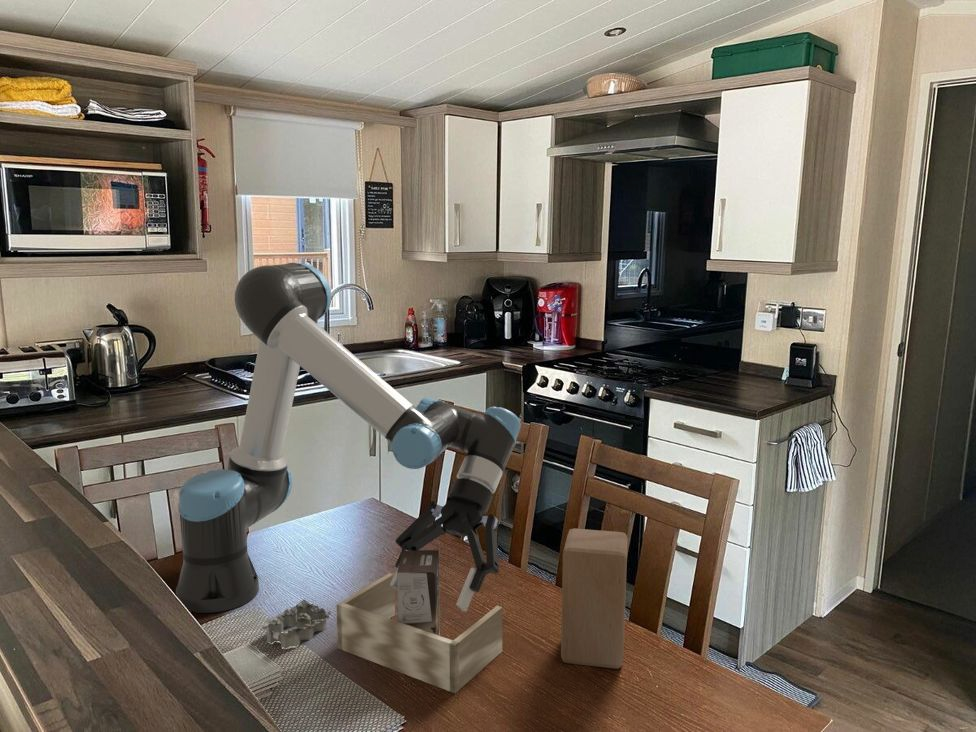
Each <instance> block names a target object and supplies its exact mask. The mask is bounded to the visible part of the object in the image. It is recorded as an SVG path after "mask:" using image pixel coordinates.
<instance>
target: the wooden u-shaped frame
mask: <svg viewBox="0 0 976 732" xmlns="http://www.w3.org/2000/svg"><path fill="white" fill-rule="evenodd" d="M394 574H395V573H391V572H388V574H386V575H384V576H382V577H380V578H379V579H377V580H376V581H374V582H372V583H371V584H368V585H367V586H365V587H364V588H362V589H360V590H359V591H357V592H355V593H353V594H352V595H350V596H349V597H347V598H345V599H344V600H342V601H339V603H337V604H336V622H337V623H336V624H337V625H336V626H337V628H336V629H337V649H338V650H341V651H344V652H346V653H348V654H349V653H350V654H351V655H355V656H356V657H360V658H362V659H363V660H364V659H365V660H367V661H370V662H373V663H375V664H378V665H380V666H383V667H385V668H388V669H390V670H393V671H396V672H399V673H401V674H403V675H406V676H409V677H411V678H414V679H417V680H419V681H421V682H424V683H426V684H430V685H431V686H434V687H437V688H440V689H443V690H446V691H447V692H450V693H453V694H457V693H458V692H460V690H461V689H462V688H463V687H465V685H466V684H468V683H469V682H470V681H471V680H472V679H473V678H475V676H477V675H478V674H479V673H480V672H481V671H482V670H484V668H486V666H488V665H489V664H490V663H492V661H493V660H495V659H496V657H498V656H499V655H500V654H501V653H502V652H503V606H499V605H496V606H494V607H493V608H492V609H491V610H489V611H488V612H487V613H486V614H485V615H484V616H482V617H481V618H480V619H478V621H476V622H475V623H473V624H472V625H471V626H470V627H468V628H467V629H466V630H465V631H464V632H462V633H461V634H459V635H458V636H457V637H456V638H455V639H450V638H446V637H444V636H441V635H440V636H438V635H435V634H432V633H429V632H427V631H424V630H421V629H418V628H415V627H412V626H409V625H406V624H403V623H400V622H398V620H394V619H392V618H393V617H394V616H395V615H396V606H395V605H396V604H395V600H396V599H395V597H396V596H395V589H394V588H393V587H392V586H391V585H390V583H391V581H392V579H393V577H394Z"/></svg>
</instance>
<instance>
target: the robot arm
mask: <svg viewBox="0 0 976 732" xmlns="http://www.w3.org/2000/svg"><path fill="white" fill-rule="evenodd" d="M331 302H332V291H331V286H330V283H329V281H328V280H327V278H326V277H325V275H324V274H323V273H322V272H321V271H320V270H319V269H317V268H316V267H315V266H313V265H310V264H307V263H299V262H288V263H283V264H274V265H268V264H266V265H261V266H260V265H259V266H256V267H254V268H252V269H250V270H248V271H247V272H246V273H244V274H243V276H241V278H240V279H239V281H238V283H237V285H236V287H235V291H234V305H235V309H236V312H237V313H238V317H239V318H240V319H241V321H242V323H243V324H244V326H245V327H246V328H247V329H248V330H249V331H250V332H251V333H252V334H253V335H254V336H255V337H256V338H257V339H258V340H259V341H258V348H257V355H256V359H255V363H254V370H253V374H252V380H251V384H250V391H249V395H248V401H247V406H246V410H245V411H246V412H245V416H244V421H243V427H242V432H241V436H240V443H239V446H237V447H235V448H232V450H231V451H230V452H229V453H230V454H229V459H228V464H227V469H223V468H222V469H214V470H213V469H212V470H209V471H207V472H201V473H198V474H196V475H194V476H192V477H190V478H189V479H187V480H186V481H185V482H184V483H183V484H182V485H181V487H180V489H179V493H178V497H179V499H178V501H179V502H178V508H177V509H178V512H179V521H180V531H181V544H182V556H183V557H182V560H183V563H182V567H181V570H180V574H179V578H178V582H177V585H176V588H175V596H176V595H177V596H178V598H179V599H180V600H181V601H182V602H183V603H184V605H185V606H186V607H187V608H188V609H189V610H190V611H189V612H190V613H195V612H196V614H197V613H199V614H209V613H210V614H212V613H220V612H225V611H229V610H233V609H236V608H238V607H241V606H243V605H245V604H247V603H249V602H251V601H252V600H253V599H254V598H256V596H257V595H258V593H259V591H260V585H259V584H260V583H259V582H260V580H259V577H258V576H259V575H258V574H257V571H256V569H255V567H254V565H253V562H252V559H251V558H250V555H249V551H248V541H247V538H248V536H247V535H248V534H247V530H248V528H249V527H251V526H254V524H256V523H258V522H259V521H261V520H262V519H264V518H265V517H267V516H268V515H270V514H273V513H274V512H276V511H277V510H278V509H279V508H280V507H281V506H282V505H283V504H284V503H285V502H286V500H288V497H289V496H290V494H291V491H292V488H293V487H292V486H293V477H292V472H290V470H289V466H288V465H289V459H288V457H287V456H286V454H285V453H284V447H285V443H286V437H287V431H288V427H289V422H290V418H291V413H292V409H293V408H292V407H293V403H294V398H295V394H296V388H297V383H298V379H299V373H300V368H302V369H303V370H304V371H306V373H308V374H309V375H310V376H312V378H313V379H315V380H317V381H318V383H320V384H321V385H323V387H324V388H326V389H327V390H328V391H329V392H331V393H332V394H333V395H334V396H335V397H337V399H339V401H341V402H342V403H344V405H345V406H346V407H348V408H349V409H350V410H351V411H353V412H354V413H355V414H356V415H358V416H359V417H360V418H362V420H363V421H365V423H367V424H368V425H369V426H370V427H372V428H373V429H374V430H375V431H376V432H378V433H379V434H380V435H381V436H383V437H384V439H386V440H387V441H388V442H389V443H390V444H391V451H392V454H393V457H394V458H395V461H396V462H397V463H398V464H400V465H401V466H402V467H405V468H406V469H410V470H419V469H423V468H424V467H426V466H428V465H430V464H432V463H433V462H434V461H436V460H437V459H438V458H439V457H440V455H441V454H442V453H443V452H445V451H446V450H447V449H448V448H449V447H450V448H452V449H456V450H459V451H460V452H464V453H466V455H465V457H464V459H463V460H462V463H461V466H460V468H459V470H458V472H457V474H456V478H457V479H455V480H454V482H453V484H452V485H451V488H450V491H449V492H448V495H447V501H446V503H445V504H444V505H443V506H442V505H440V504H438V503H436V502H435V501H434V500H431V501H429V503H428V504H427V506H426V508H425V510H424V511H423V512H422V513H421V514H420V515H419V516H418V517H417V518H416V519H414V521H412V523H411V524H410V525H409V526H408V527H407V528H406V529H405V530H403V532H402V533H401V534H400V535H399V536H398V537H397V538H396V539H395V543H396V545H397V546H399V547H400V549H401V551H400V554H399V556H398V558H397V561H396V562H395V566H394V567H395V568H396V570H395V572H394V573H393V574H394V577H393V579H392V581H391V583H390V585H391V586H392V587H393V588H394V590H395V591H397V570H398V567H399V563H400V560H401V556H402V553H403V551H416V550H420V549H422V548H424V547H425V546H427V545H428V544H429V543H432V541H435V540H436V539H437V538H439V537H441V536H444V535H446V534H447V533H448V534H450V535H452V536H457V535H458V536H459V537H462V538H467V542H468V544H469V548H470V552H471V554H472V557H473V561H474V564H475V565H474V567H470V569H469V572H468V574H467V577H466V579H465V582H464V584H463V586H462V589H461V591H460V594H459V596H458V599H457V601H456V604H455V606H456V607H457V608H459V610H461V611H462V612H468V608H469V606H470V605H471V601H472V599H473V596H474V594H475V593H479V591H480V590H481V588H482V585H483V583H484V580H485V578H486V575H488V574H494V575H497V574H499V571H500V565H499V551H498V550H499V549H498V548H499V547H498V535H497V534H498V533H497V532H498V528H499V525H500V521H499V520H498V519H497V517H496V516H495V515H494V514H489V515H486V514H487V512H488V510H489V507H490V506H491V502H492V501H493V499H494V496H493V494H495V493H496V491H497V488H498V486H499V483H500V480H501V478H502V476H503V473H504V471H505V469H506V466H507V464H508V462H509V460H510V457H511V455H512V452H513V451H514V448H515V446H516V443H517V439H518V436H519V434H520V431H521V427H522V424H521V421H520V419H519V417H518V416H517V415H516V414H515V413H513V412H512V411H510V410H508V409H506V408H504V407H500V406H499V407H497V406H490V407H488V408H486V409H485V412H483V414H480V413H476V412H472V411H471V410H467V409H464V408H462V407H458V406H456V405H453V404H451V403H448V402H445V401H444V400H441V399H435V398H432V397H428V396H427V397H424V398H422V399H421V400H420V401H419V403H418V404H417V406H415V405H414V404H412V403H411V402H410V401H409V400H408V399H406V398H405V397H404V396H403V395H402V394H400V393H399V392H398V391H397V390H396V389H395V388H393V386H391V385H390V384H389V383H387V381H385V380H384V379H383V378H382V377H380V376H379V375H378V374H377V373H376V372H375V371H373V370H372V369H371V368H370V367H369V366H367V365H366V364H365V363H364V362H363V361H361V360H360V359H359V358H358V357H357V356H356V355H354V354H353V353H352V352H351V351H350V350H349V349H347V348H346V347H345V346H344V345H343V344H342V343H340V342H339V341H338V340H336V339H335V338H334V337H333V336H332V335H331V334H329V332H328V331H326V330H325V329H324V328H322V326H320V325H319V324H318V321H319V320H320V319H321V318H322V317H323V316H324V315H325V314H326V313H327V312H328V310H329V309H330V306H331ZM440 515H441V516H440ZM482 526H483V527H484V533H485V534H484V536H485V537H484V538H485V553H486V558H485V556H484V551H483V549H482V546H481V543H480V537H479V534H478V531H477V529H479V528H480V527H482ZM192 611H193V612H192Z"/></svg>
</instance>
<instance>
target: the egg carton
mask: <svg viewBox="0 0 976 732" xmlns="http://www.w3.org/2000/svg"><path fill="white" fill-rule="evenodd" d="M331 614H332V612H330V611H328V612H327V611H325V609H324V607H320V606H318V605H316V604H315V603H310V602H309V601H308V600H306V599H302V600H301V601H299V602H298V604H296V605H295V606H292V607H290V609H289V608H286V609H285V610H284V611H283V612H280V613H279V614H277V615H276V616H274V617H270V618H267V619H266V620H265V621H264V622H263V625H262V627H261V630H263V631H264V630H265V631H266V642H267V641H268V642H270V643H272V642H274V641H280V642H281V643H280V648H281V647H284V648H287V647H289V646H297V645H299V646H300V644H301V641H303V640H304V641H305V640H307V641H310V640H312V638H313V637H314V633H316V632H324V631H326V630H327V629H328V628H327V620H329V619H330V615H331ZM295 626H296V627H295ZM285 628H289V629H288V630H287V632H284V629H285ZM281 632H283V633H281Z"/></svg>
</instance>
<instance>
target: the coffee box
mask: <svg viewBox="0 0 976 732" xmlns="http://www.w3.org/2000/svg"><path fill="white" fill-rule="evenodd" d="M439 558H440V551H439V550H438V549H423V550H420V549H419V550H416V551H403V553H402V556H401V560H400V563H399V567H398V570H397V569H396V570H397V590H396V591H397V596H396V597H397V600H396V601H397V622H400V623H403V624H406V625H409V626H412V627H415V628H418V629H421V630H424V631H427V632H429V633H432V634H435V635H438V636H441V635H440V634H441V633H440V631H441V630H440V625H441V624H440V622H441V621H440V614H441V613H440V565H439V564H440V559H439Z"/></svg>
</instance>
